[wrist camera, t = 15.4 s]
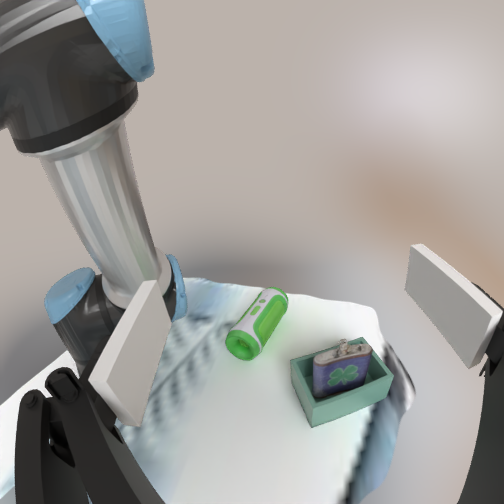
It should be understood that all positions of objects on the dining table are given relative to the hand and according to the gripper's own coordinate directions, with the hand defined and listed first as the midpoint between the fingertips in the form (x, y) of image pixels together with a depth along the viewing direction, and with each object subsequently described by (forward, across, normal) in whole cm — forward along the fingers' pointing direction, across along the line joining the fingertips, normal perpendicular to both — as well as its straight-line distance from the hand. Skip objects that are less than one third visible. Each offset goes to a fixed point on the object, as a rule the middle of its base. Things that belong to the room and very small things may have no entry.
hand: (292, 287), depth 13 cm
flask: (+15, +9, -31) cm, 36 cm away
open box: (+16, +9, -32) cm, 37 cm away
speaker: (+34, -3, -32) cm, 47 cm away
